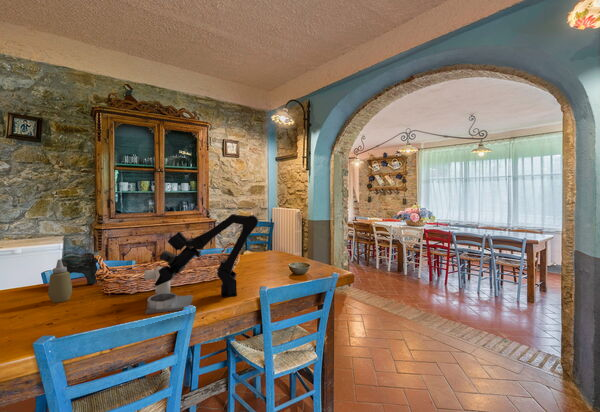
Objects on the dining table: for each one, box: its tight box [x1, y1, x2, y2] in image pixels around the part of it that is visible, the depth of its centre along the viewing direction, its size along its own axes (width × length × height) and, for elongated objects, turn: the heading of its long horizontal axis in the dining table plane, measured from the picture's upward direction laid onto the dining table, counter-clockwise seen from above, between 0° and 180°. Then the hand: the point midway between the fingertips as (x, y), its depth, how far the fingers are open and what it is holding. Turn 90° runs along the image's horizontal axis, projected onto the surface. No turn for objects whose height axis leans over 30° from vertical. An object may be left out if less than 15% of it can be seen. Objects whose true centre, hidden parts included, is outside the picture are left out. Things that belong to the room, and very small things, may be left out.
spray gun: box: [60, 245, 102, 285], centre depth 144 cm, size 20×6×20 cm, turn 93°
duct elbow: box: [143, 266, 171, 295], centre depth 126 cm, size 10×6×13 cm, turn 106°
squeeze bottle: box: [47, 258, 73, 303], centre depth 122 cm, size 8×8×18 cm
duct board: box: [145, 292, 194, 315], centre depth 117 cm, size 16×14×4 cm
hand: (159, 282), depth 127 cm, fingers open, 9 cm apart
